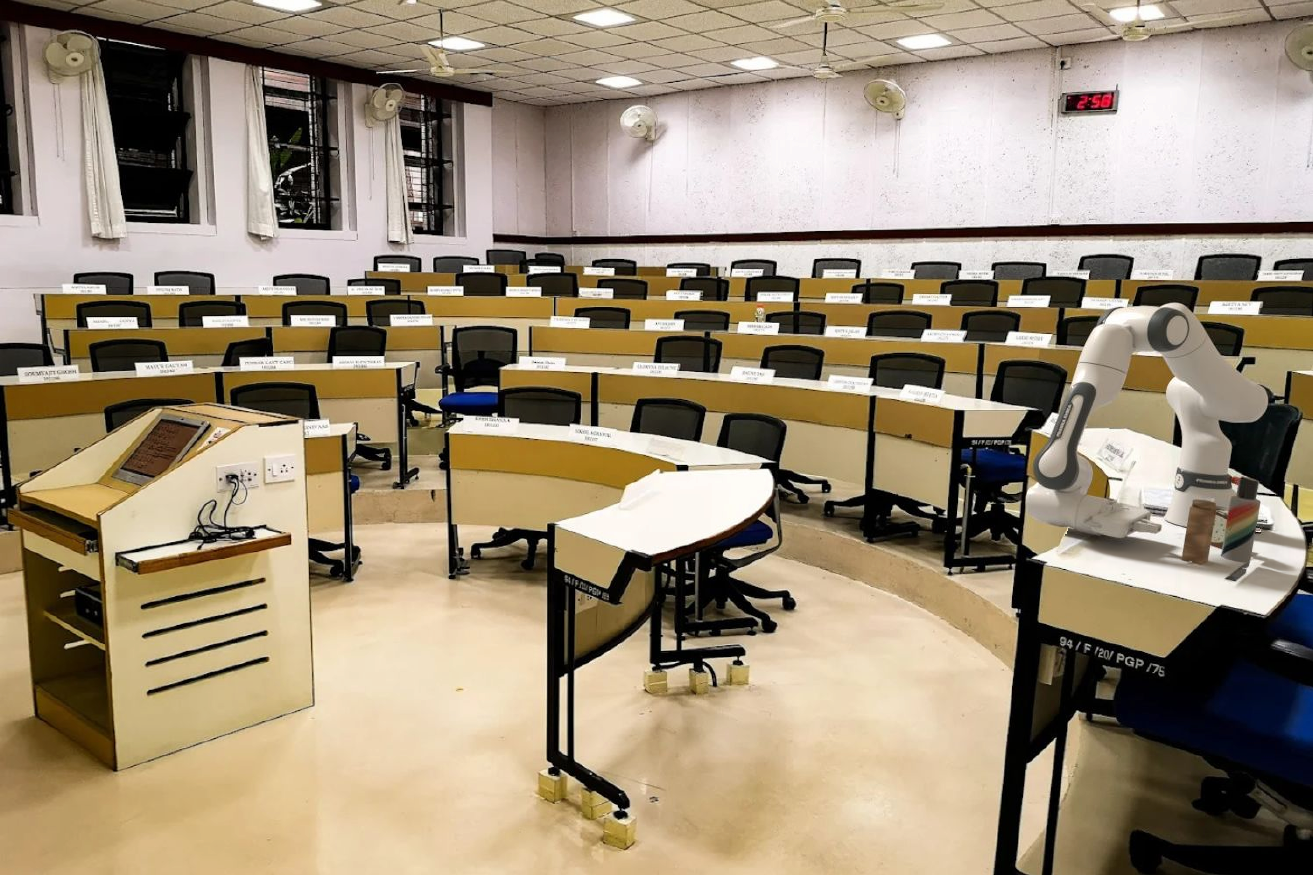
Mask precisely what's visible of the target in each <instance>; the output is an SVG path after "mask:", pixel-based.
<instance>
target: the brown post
mask: <svg viewBox="0 0 1313 875" xmlns="http://www.w3.org/2000/svg"><path fill="white" fill-rule="evenodd" d="M1215 506H1216V503H1214V502H1211V501H1206V500H1193V502H1192V506H1191V507H1190V510H1189V516H1188V522H1187V527H1186V529H1185V537H1184V541H1183V548H1182V555H1181V561H1184V562H1187V564H1189V565H1190V564H1197V565H1203V564H1205V563H1206V562H1208V561H1209V556H1210V551H1211V539H1212V533H1213V527H1214V521H1215V515H1216V509H1217V508H1216V507H1215Z"/></svg>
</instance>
